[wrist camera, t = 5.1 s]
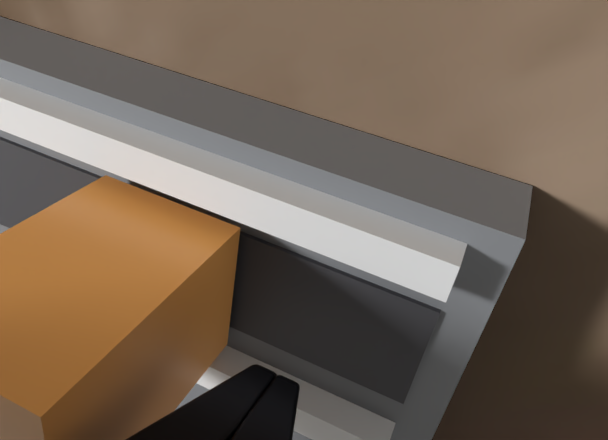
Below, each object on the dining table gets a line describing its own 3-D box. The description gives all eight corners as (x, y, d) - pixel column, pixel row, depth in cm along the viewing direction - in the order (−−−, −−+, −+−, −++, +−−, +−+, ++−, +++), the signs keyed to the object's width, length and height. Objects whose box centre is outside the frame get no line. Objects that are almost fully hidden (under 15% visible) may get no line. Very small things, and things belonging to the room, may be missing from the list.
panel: (532, 185, 10) (512, 342, 6) (362, 565, 17) (309, 731, 14) (-48, 1, 13) (-273, 31, 10) (24, 382, 21) (-88, 478, 17)
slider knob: (240, 228, 10) (40, 416, 6) (227, 344, 11) (63, 549, 8) (105, 174, 10) (-145, 315, 7) (110, 291, 12) (-89, 455, 8)
